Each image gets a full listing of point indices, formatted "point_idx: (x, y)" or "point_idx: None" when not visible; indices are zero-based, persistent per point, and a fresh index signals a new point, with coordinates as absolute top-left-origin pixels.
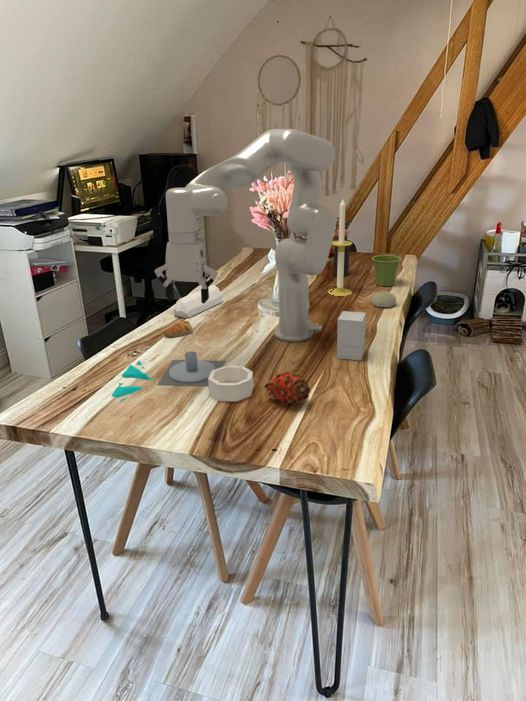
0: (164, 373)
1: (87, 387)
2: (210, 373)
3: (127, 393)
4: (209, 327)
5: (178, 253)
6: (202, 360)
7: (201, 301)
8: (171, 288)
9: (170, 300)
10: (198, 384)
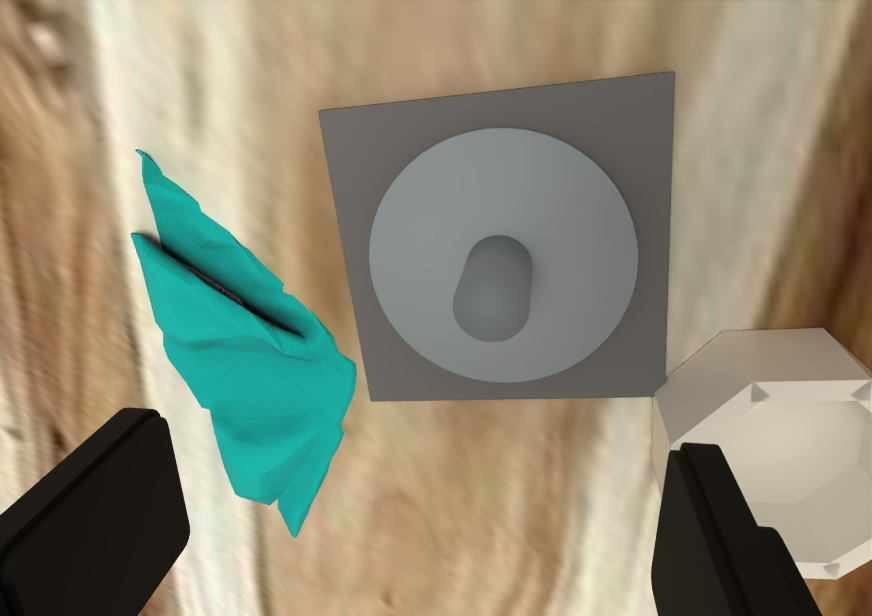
0: (353, 290)
1: (94, 425)
2: None
3: (286, 477)
4: None
5: None
6: (523, 131)
7: (655, 600)
8: (66, 606)
9: (187, 536)
10: (574, 384)
